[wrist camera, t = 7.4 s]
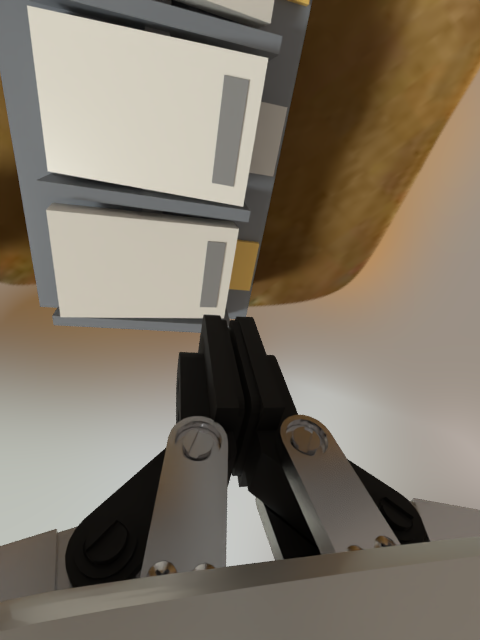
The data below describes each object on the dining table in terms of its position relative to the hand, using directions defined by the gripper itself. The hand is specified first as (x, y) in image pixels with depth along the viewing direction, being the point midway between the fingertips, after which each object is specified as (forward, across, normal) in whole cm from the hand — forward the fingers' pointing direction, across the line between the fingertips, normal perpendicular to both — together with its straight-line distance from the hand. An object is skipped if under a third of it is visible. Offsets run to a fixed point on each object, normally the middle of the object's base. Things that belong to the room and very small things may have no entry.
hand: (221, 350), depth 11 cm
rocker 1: (+8, +3, -6) cm, 11 cm away
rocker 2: (+8, +3, +1) cm, 9 cm away
